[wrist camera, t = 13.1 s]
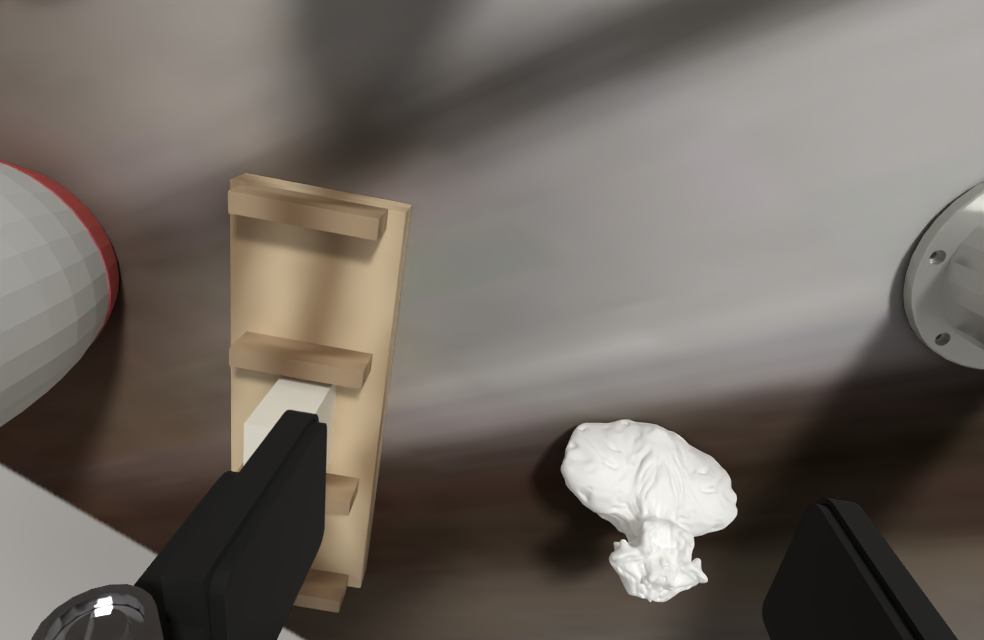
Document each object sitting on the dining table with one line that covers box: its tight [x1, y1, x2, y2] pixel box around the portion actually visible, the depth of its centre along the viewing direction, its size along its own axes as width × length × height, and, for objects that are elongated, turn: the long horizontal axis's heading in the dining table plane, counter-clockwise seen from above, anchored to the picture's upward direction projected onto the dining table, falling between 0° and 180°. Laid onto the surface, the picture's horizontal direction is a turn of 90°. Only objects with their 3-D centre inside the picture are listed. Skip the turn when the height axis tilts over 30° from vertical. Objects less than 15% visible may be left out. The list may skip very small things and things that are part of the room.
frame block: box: [243, 375, 337, 470], centre depth 35 cm, size 3×7×6 cm, turn 169°
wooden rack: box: [228, 173, 412, 613], centre depth 38 cm, size 10×30×4 cm, turn 170°
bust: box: [561, 419, 737, 602], centre depth 37 cm, size 12×8×11 cm
